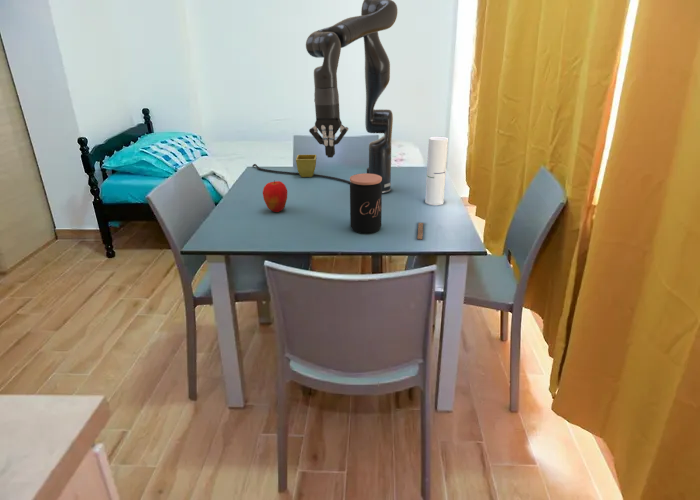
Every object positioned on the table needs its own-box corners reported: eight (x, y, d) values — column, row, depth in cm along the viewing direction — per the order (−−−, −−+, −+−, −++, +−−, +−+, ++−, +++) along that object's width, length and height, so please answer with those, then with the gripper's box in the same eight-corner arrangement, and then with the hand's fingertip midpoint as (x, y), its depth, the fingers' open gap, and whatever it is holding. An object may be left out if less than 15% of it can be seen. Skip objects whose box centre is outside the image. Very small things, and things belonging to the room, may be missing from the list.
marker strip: (417, 239, 159) (417, 238, 159) (418, 223, 171) (418, 222, 171) (422, 239, 159) (422, 238, 159) (423, 223, 171) (423, 222, 171)
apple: (279, 204, 191) (276, 175, 186) (293, 210, 185) (291, 179, 180) (259, 210, 185) (256, 180, 180) (273, 216, 180) (271, 185, 174)
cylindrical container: (443, 205, 188) (448, 140, 178) (424, 204, 190) (428, 140, 179) (443, 199, 195) (448, 136, 184) (425, 198, 196) (429, 136, 185)
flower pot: (315, 178, 224) (315, 159, 220) (296, 178, 224) (295, 159, 220) (317, 173, 232) (316, 154, 228) (298, 173, 232) (297, 154, 228)
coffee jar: (359, 236, 161) (359, 184, 154) (344, 226, 170) (344, 176, 163) (387, 230, 166) (388, 179, 158) (371, 220, 174) (371, 171, 167)
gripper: (350, 99, 154) (352, 154, 161) (309, 100, 157) (313, 153, 164) (345, 103, 147) (347, 160, 155) (303, 104, 150) (307, 159, 157)
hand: (330, 156), depth 159 cm, fingers closed
